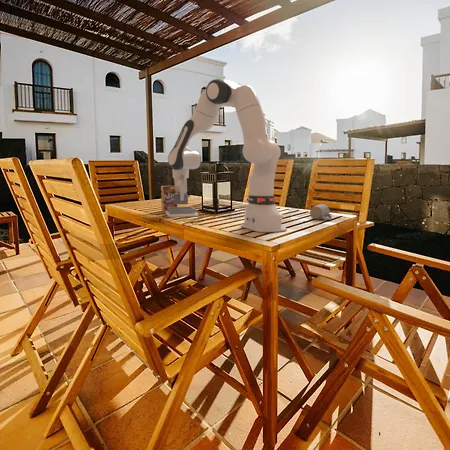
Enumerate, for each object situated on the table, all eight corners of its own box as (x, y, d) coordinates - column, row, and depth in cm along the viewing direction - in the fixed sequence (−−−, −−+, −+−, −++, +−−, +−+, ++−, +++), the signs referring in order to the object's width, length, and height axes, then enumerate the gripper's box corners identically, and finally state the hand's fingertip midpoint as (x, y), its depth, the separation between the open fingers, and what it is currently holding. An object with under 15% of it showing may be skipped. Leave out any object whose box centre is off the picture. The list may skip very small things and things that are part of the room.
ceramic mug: (308, 219, 177) (309, 204, 175) (316, 217, 183) (317, 203, 181) (327, 221, 170) (328, 206, 168) (334, 220, 175) (335, 205, 174)
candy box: (162, 212, 197) (162, 186, 194) (161, 211, 201) (160, 185, 198) (177, 211, 200) (177, 185, 198) (175, 210, 204) (175, 185, 201)
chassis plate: (198, 216, 183) (198, 209, 183) (168, 217, 179) (168, 210, 178) (192, 212, 198) (192, 205, 198) (165, 213, 194) (165, 206, 193)
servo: (190, 203, 187) (189, 193, 186) (173, 204, 184) (172, 193, 183) (188, 203, 191) (188, 192, 190) (172, 203, 188) (171, 192, 187)
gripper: (189, 175, 176) (189, 201, 178) (183, 174, 195) (183, 198, 198) (177, 175, 174) (178, 202, 176) (172, 174, 193) (173, 198, 196)
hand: (181, 199), depth 187 cm, fingers closed on servo, 4 cm apart
